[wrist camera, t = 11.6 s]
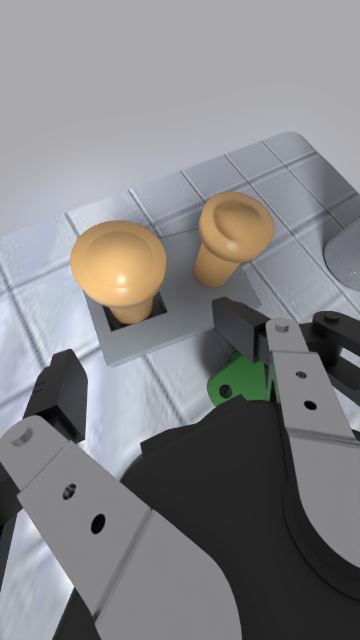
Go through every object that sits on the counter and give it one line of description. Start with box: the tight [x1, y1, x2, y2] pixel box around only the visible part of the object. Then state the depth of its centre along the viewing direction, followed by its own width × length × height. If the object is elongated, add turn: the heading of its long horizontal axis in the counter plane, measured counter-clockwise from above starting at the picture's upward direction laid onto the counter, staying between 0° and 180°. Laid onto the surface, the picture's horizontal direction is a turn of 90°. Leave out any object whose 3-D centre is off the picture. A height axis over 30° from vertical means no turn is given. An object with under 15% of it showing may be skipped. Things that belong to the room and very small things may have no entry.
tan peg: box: [70, 221, 166, 327], centre depth 16 cm, size 6×6×10 cm
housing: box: [83, 192, 274, 367], centre depth 18 cm, size 16×11×10 cm, turn 113°
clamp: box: [207, 350, 266, 407], centre depth 18 cm, size 12×6×9 cm, turn 31°
